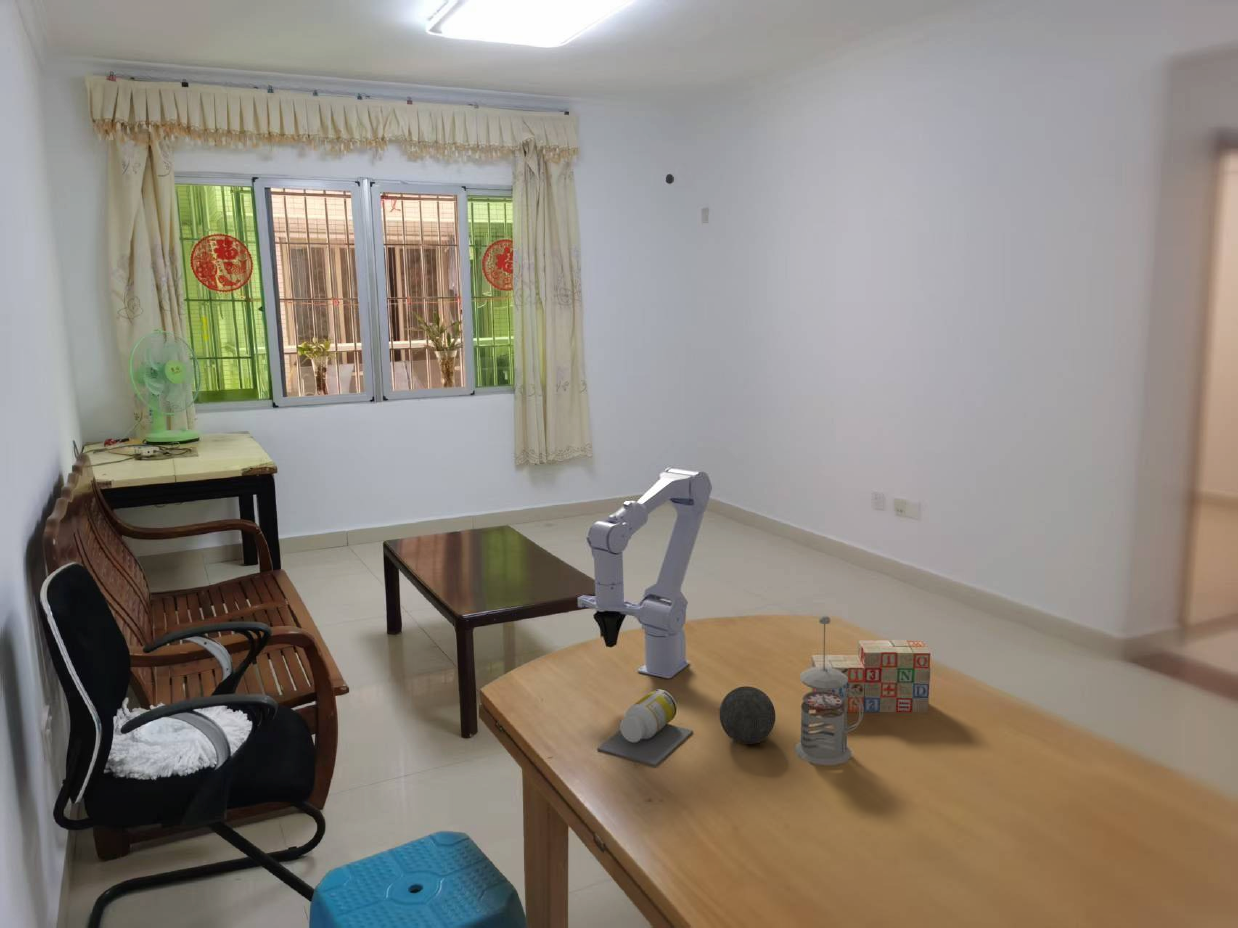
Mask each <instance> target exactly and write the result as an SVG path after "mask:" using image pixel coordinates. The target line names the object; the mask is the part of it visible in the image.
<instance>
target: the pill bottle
mask: <svg viewBox="0 0 1238 928" xmlns="http://www.w3.org/2000/svg"><path fill="white" fill-rule="evenodd" d="M676 703H677V702H676V701H675V699H674V697H673V696H672V695H671V694H670V693H669V692H668V691H666V690H663V689H658V688H657V689H653V690H652V691H650V692H649V693H647V694H646V695H644V696H643V697H642V698H640V699H639V700H638V701H636V702H635V703H633V704H632V705H631V706H630V707H629V708H628V709H627V710H626V713H625V717H624V718H623V719H621V721H620V724H619V731H620V730H621V733H622V735H623V736H624V738H625V739H627V740H628V741H630V742H638V741H639V740H640V739H649V738H651V737H652V736H653V735H655V734H656V733H657V732H658V731H659V730H661V729H662V728H663V727H664V726H665V725H667V724H670V722H672V721H673V720H674V718H676V717H675V716H676V715H677V711H678V710H677V704H676Z"/></svg>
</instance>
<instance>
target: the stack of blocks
mask: <svg viewBox="0 0 1238 928" xmlns="http://www.w3.org/2000/svg"><path fill="white" fill-rule="evenodd" d="M857 644H858V645H857V654H854V655H853V654H848V655H847V654H825V666H826V667H830V668H833V669H837V670H839V671H841V672H842V673H844V674H845V675H846V676H847V678H848V680H847V683H846V685H845V686H843V687H842V688H838V689H834V690H824V691H828V692H833V693H836V694H839V695H840V696H842V697H843V693H844V692H846V689H847V688H850V689H852V690H853V691H855V692H856V693H857V694H858V696H859V697H860V699H861V701H862V703H863V707H864V708H863V713H929V703H930V701H929V700H930V699H929V698H930V697H929V695H930V683H931V652H930V650H929V649H928V648H927V647H928V646H927V647H926V645H925V643H924V642H923V641H922V640H905V639H890V640H887V639H886V640H885V639H884V640H877V639H876V640H858V642H857ZM823 661H824V654H812V655H811V667H810V668H812V667H823ZM810 688H811V687H810ZM810 690H811V691H810V692H812V691H819V690H820V691H821V689H815V688H811V689H810ZM822 691H823V690H822ZM848 693H849V694H851V695H852V696H853V697H854V698H855V699H856V701H857V702H858V704H859V707H860V711H861V713H862V705H861V702H860V700H859V698H858V697H857V696H856V694H855V693H854V692H852V691H851V690H848ZM845 696H846V693H845ZM843 698H844V697H843ZM844 700H845V703H844V705H845V707H846V713H847V712H848V713H859V709H858V706H857V703H856V701H855V700H854V699H853V698H852V697H851V696H850V695H847V697H846V698H845V699H844ZM837 710H838V711H840V712H841V713H843V711H842V710H841V709H840V708H839V709H837ZM821 711H824V710H817V709H816V710H815V712H821Z"/></svg>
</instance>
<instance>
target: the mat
mask: <svg viewBox="0 0 1238 928" xmlns="http://www.w3.org/2000/svg"><path fill="white" fill-rule="evenodd" d="M693 733H694V730H693V729H689V728H685V727H681V726H677V725H673V724H670V723H668V724H667V725H665V726H664V727H663V728H662V729H661V730H659V731H658V732H657V733H656V734H655V735H653V736H652V737H651V738H649V739H640V740H639V741H638V742H630V741H628V740H627V739H625V738H624V736H623V735H622V733H621V730H620V729H619V730H618V731H617V732H616V733H614V734H613V735H612V736H611V737H609V738H608V739H607V740H606V741H604V742H603V743H602V744H601V745H600V746H597V748H596V749H597V751H599V752H602V753H606V754H608V755H609V754H610V755H613V756H616V757H618V758H623V759H627V760H630V761H632V762H633V761H634V762H636V763H641V764H644V765H647V766H650V767H654V768H656V767H657V766H658V765H659V764H660V763H661V762H663V760H665V759H666V758H667V757H668V756H669V755H670V754H672V752H674V751H675V750H676V749H677V748H678V747H679V746H680V745H682V744H683V742H685V741H686V740H687V739H688V738H689V737H690V736H692V734H693Z"/></svg>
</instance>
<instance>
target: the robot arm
mask: <svg viewBox="0 0 1238 928" xmlns="http://www.w3.org/2000/svg"><path fill="white" fill-rule="evenodd" d="M657 479H658V480H657V482H655V484H654V485H652V487H650V489H649V490H647V491H646V492H645V493H644V494H643V495H642V496H641V497H640V498H639V499H638V500H637V501H636V500H629V501H628V500H626V501H625V502H623V503H622V506H621V507H619V509H617V510H616V511H615V512H613V514H612V513H611V514H610V515H609V516H608V517H607V518H605V520H604V521H603V520H598V521H595V523H594V524H592V525H591V526H590V528H589V530H588V534H587V536H586V543H587V545H588V547H589V548H590V549H591V550H590V551H591V556H592V558H593V567H594V594H595V595H594V596H593V595H592V596H591V595H584V594H583V595H581V596H578V597H577V607H578V608H584V607H585V608H590V609H594V610H595V613H593V619H594V621H595V622H596V623H597V626H598V628H599V629H600V632H601V634H602V637H603V640H604V644H605V647H606V648H613V647H615V646H616V645H617V644H618V639H619V635H620V630H621V627H622V625H623V622H624V621H625V618H626V617H627V616H632V617H633V618H635V619H636V620H637V622H638V623H639V624H641V630H643V631H644V655H645V657H644V660H645V662H644V663H645V664H644V665H642V666H641V667H639V668H638V669H637V672H638V673H642V674H646V675H651V676H654V677H655V676H656V677H660V678H663V679H671V678H672V677H674V676H675V675H676V674H678V673H679V672H680V671H682V670H683V669H685V668H686V667H687V666H688V665H689V664H690V660H687V650H686V647H687V645H686V643H687V642H686V633H685V631H684V629H683V627H684V625H685V624H686V621H687V620H686V619H687V607H688V603H689V602H688V600H687V598H686V597H685V595H684V594H683V593H682V591H681V589H682V586H683V583H684V579H685V577H686V574H687V570H688V568H689V564H690V560H691V557H692V554H693V550H694V547H695V544H696V542H697V537H698V534H699V531H700V527H701V525H702V520H703V518H704V514H705V512H706V509H707V506H708V503H709V500H710V497H711V493H712V489H713V486H712V483H711V479H710V476H709V475H708V473H707V472H705V471H703V470H702V471H701V470H699V471H696V470H689V469H683V468H682V469H681V468H676V467H674V466H673V467H672V466H670V467H667V468H665V470H664V471H662V472H661V473H660V474H659V475H658V478H657ZM666 502H669V503H670V505H671V506H672V508H673V509H675V511H676V514H677V515H676V519H675V522H674V526H673V529H672V533H671V535H670V539H669V541H668V545H667V549H666V552H665V555H664V557H663V562H662V564H661V567H660V571H659V573H658V577H657V580H656V583H654V584H652V585H650V586H649V587H647V588H645V590H644V594H643V596H642V598H641V599H640V600H639V602H638V604H636V603H634V602H631V601H629V600H626V599H625V594H624V593H625V592H624V590H625V588H624V560H623V559H624V557H623V555H624V554H623V553H624V551H625V550H626V548H627V547H628V543H629V541H630V540H631V538H632V536H633V535H634V534H635V533H636V532H638V531H639V530H640V529H641V528H642V527H643V526H645V525H646V524H647V523H648V520H649V515H650V514H651V513H652V512H653V511H655V510H656V509H658V508H659V507H661V506H663V505H664V504H665V503H666ZM669 601H670V602H669Z"/></svg>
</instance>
